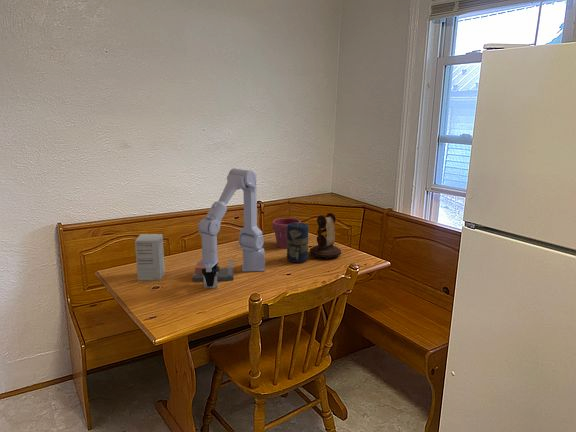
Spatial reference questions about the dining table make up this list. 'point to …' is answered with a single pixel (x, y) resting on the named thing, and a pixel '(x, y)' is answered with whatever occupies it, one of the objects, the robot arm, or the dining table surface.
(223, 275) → the press bed
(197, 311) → the dining table surface
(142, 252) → the supplement box
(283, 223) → the plant pot
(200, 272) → the tall terracotta prism
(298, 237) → the canister
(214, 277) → the housing
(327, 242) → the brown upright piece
